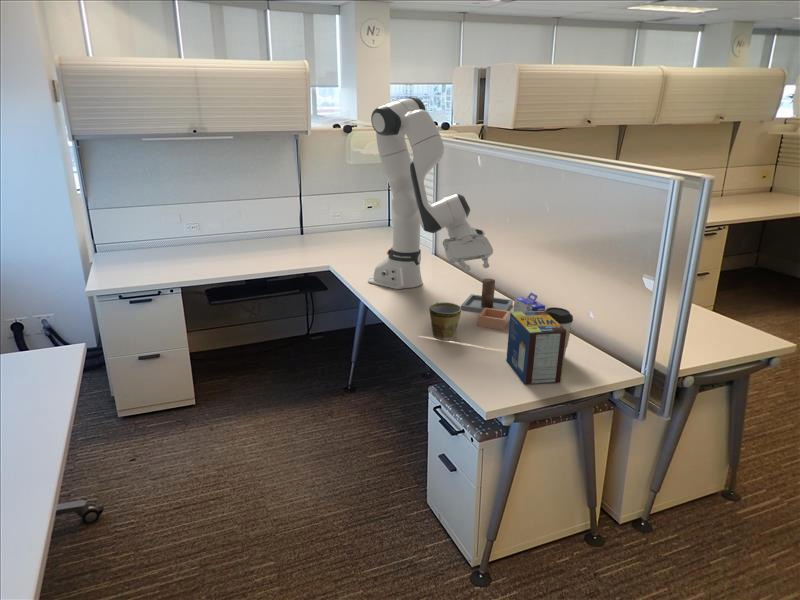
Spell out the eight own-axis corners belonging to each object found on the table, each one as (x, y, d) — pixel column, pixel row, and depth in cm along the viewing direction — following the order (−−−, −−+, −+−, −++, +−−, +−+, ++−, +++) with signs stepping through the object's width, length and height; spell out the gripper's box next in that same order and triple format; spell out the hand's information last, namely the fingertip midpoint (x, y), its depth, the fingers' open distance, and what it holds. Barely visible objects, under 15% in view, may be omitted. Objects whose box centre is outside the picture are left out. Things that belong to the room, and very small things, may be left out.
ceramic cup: (464, 341, 180) (466, 311, 176) (434, 344, 177) (435, 314, 173) (449, 326, 191) (450, 298, 188) (421, 329, 189) (422, 300, 185)
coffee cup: (545, 348, 176) (550, 302, 171) (572, 356, 171) (579, 309, 166) (531, 357, 169) (536, 310, 164) (560, 366, 164) (566, 318, 159)
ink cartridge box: (542, 341, 181) (547, 298, 176) (527, 344, 179) (532, 300, 174) (524, 330, 189) (528, 288, 184) (510, 332, 187) (513, 290, 182)
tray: (460, 310, 205) (460, 305, 204) (470, 299, 217) (471, 294, 217) (504, 317, 200) (504, 312, 199) (512, 305, 212) (512, 300, 211)
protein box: (538, 358, 169) (544, 309, 164) (560, 383, 155) (567, 330, 149) (505, 360, 167) (509, 311, 162) (524, 385, 153) (529, 332, 148)
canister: (479, 307, 207) (481, 281, 204) (482, 303, 211) (484, 277, 208) (491, 309, 206) (493, 282, 202) (494, 305, 209) (496, 279, 206)
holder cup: (477, 327, 191) (478, 316, 190) (483, 318, 199) (484, 307, 197) (503, 331, 188) (504, 320, 186) (509, 322, 196) (510, 311, 194)
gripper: (445, 235, 204) (461, 268, 200) (486, 230, 216) (502, 261, 212) (436, 244, 209) (451, 276, 205) (477, 239, 221) (492, 269, 216)
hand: (477, 269), depth 208 cm, fingers open, 8 cm apart
